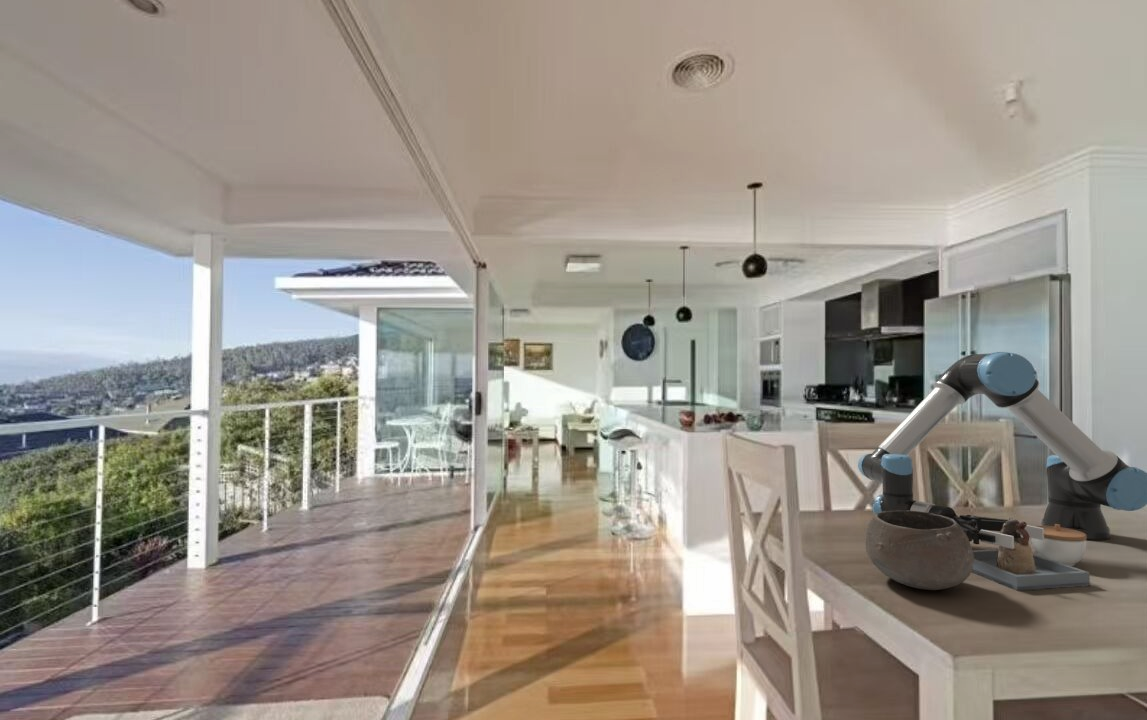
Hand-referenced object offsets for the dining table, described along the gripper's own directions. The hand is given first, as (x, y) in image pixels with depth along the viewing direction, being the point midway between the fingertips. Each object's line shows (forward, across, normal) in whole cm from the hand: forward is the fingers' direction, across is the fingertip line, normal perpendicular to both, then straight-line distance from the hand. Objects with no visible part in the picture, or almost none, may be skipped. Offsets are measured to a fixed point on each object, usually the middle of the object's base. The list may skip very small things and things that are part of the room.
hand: (1028, 538), depth 129 cm
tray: (-3, 0, -9) cm, 9 cm away
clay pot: (-10, +26, -9) cm, 29 cm away
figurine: (-3, 0, -8) cm, 9 cm away
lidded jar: (-2, -19, -9) cm, 21 cm away
